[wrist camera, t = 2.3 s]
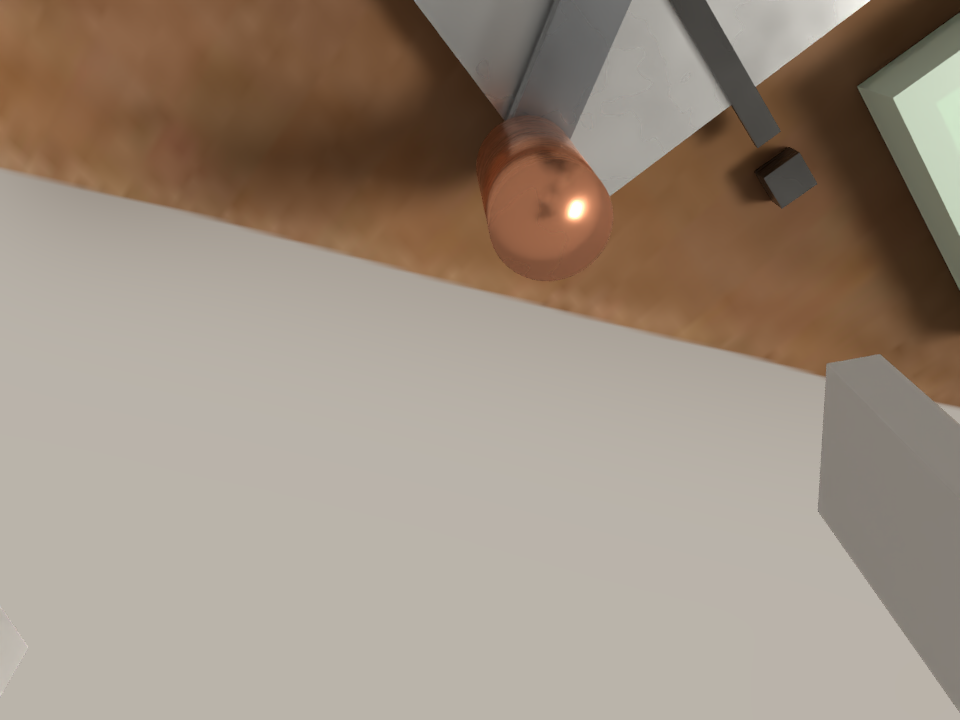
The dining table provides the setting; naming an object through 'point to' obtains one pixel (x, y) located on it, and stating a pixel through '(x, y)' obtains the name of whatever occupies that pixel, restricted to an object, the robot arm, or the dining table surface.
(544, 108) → the crank
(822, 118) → the dining table surface
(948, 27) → the tray
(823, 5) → the crank plate
